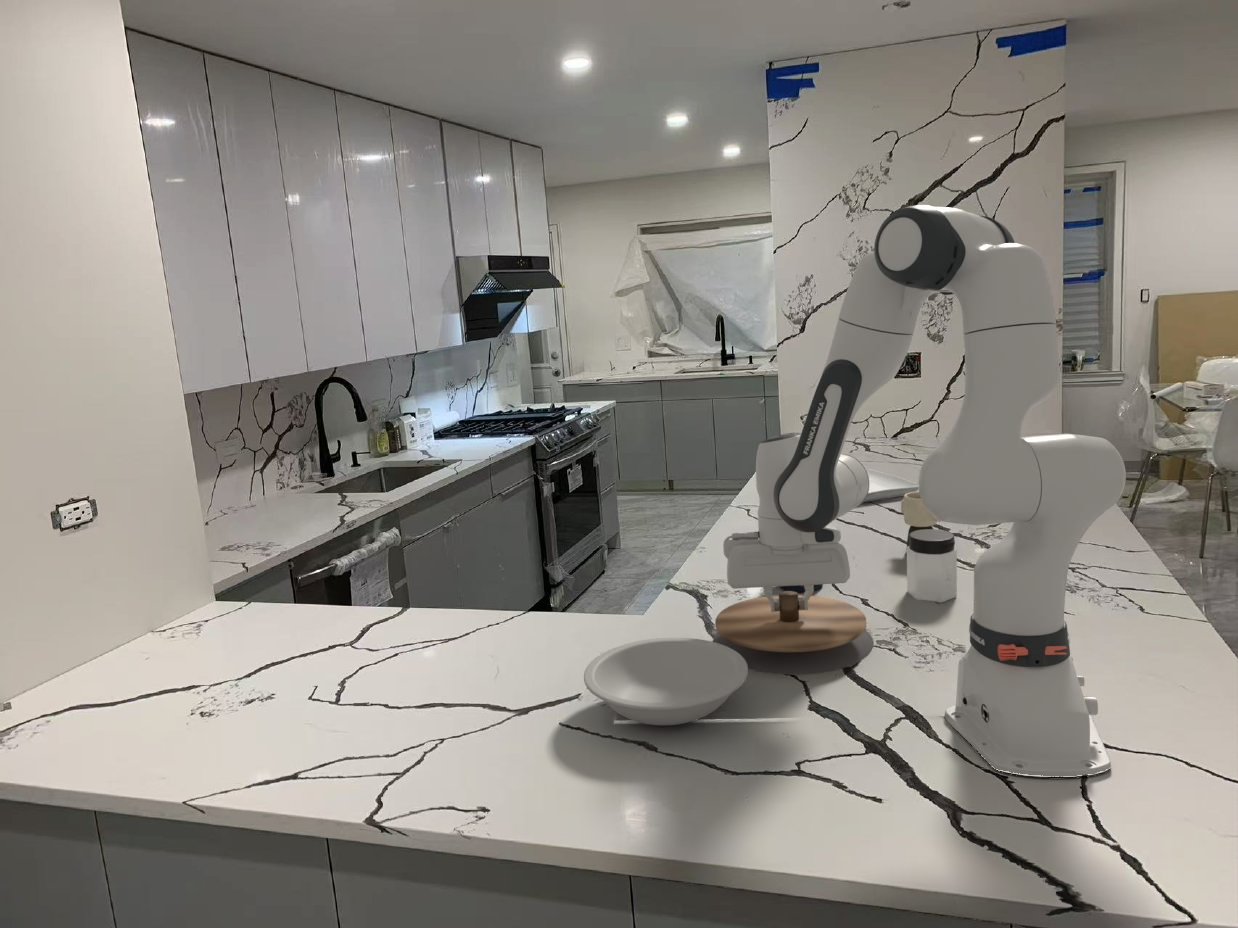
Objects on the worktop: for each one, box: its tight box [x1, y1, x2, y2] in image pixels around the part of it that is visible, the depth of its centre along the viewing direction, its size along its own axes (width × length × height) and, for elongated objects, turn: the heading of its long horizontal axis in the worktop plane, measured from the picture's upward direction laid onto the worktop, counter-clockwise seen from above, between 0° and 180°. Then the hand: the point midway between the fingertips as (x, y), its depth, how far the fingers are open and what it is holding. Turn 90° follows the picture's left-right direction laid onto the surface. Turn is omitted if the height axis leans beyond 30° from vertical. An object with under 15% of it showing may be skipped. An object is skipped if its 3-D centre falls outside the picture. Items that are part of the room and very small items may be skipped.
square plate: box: [862, 468, 919, 503], centre depth 252 cm, size 27×27×4 cm
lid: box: [714, 590, 867, 652], centre depth 149 cm, size 25×25×5 cm
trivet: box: [712, 629, 874, 675], centre depth 152 cm, size 27×27×1 cm
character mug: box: [900, 491, 942, 551], centre depth 194 cm, size 11×7×13 cm, turn 30°
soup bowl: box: [583, 637, 749, 726], centre depth 130 cm, size 24×24×7 cm
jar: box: [906, 528, 958, 604], centre depth 168 cm, size 9×8×12 cm
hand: (789, 609), depth 149 cm, fingers closed on lid, 3 cm apart
